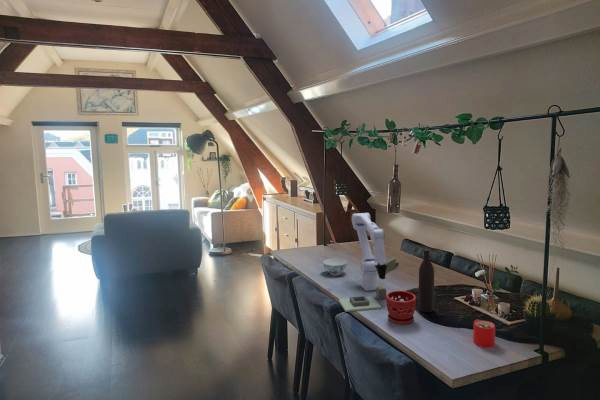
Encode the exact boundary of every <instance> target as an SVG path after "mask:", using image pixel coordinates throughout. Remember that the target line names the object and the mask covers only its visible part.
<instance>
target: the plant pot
mask: <svg viewBox="0 0 600 400" xmlns="http://www.w3.org/2000/svg"><path fill="white" fill-rule="evenodd" d="M385 300H386V309H387V312H388V314H387V318H388V320H389V321H390V322H392V323H395V324H397V325H407V324H411V323H412V322H413V321H414V318H415V317H414V314H415V311H416V305H417V304H416V303H417V297H416V295H415V294H414V293H412V292H409V291H405V290H393V291H392V290H391V291H390V292H387V293H386V299H385ZM400 300H402V301H400Z"/></svg>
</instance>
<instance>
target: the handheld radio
mask: <svg viewBox="0 0 600 400" xmlns="http://www.w3.org/2000/svg"><path fill="white" fill-rule="evenodd" d="M387 260H388V261H387V262H384V264H385V265H387V268H386V273H389V272H390V271H391V270H393V269H395V268H396V266H398V265H400V264H399V263H400V262H396V261H397V258H396V256H393V257H391V258H389V259H387Z"/></svg>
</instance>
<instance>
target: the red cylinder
mask: <svg viewBox="0 0 600 400" xmlns="http://www.w3.org/2000/svg"><path fill="white" fill-rule="evenodd" d="M472 327H473V337H472V338H473V341H472V342H473V344H475V345H476V346H477V347H480V348H487V349H489V348H493V347H495V343H496V324H495V323H494V322H491V321H488V320H482V319H475V320H474V321H473V326H472Z"/></svg>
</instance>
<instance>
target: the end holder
mask: <svg viewBox="0 0 600 400" xmlns="http://www.w3.org/2000/svg"><path fill="white" fill-rule="evenodd" d="M338 303H339V305H340V306H341V307H342V309H343V310H344V312H345V313H346V312H350V313H351V312H358V311H361V312H362V311H371V310H380V309H381V310H382V305H381V304H380V303H378V301H377V300H376V299H375V298H374V296H366V295H359V296H358V295H357V296H349V298H339V299H338Z"/></svg>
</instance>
